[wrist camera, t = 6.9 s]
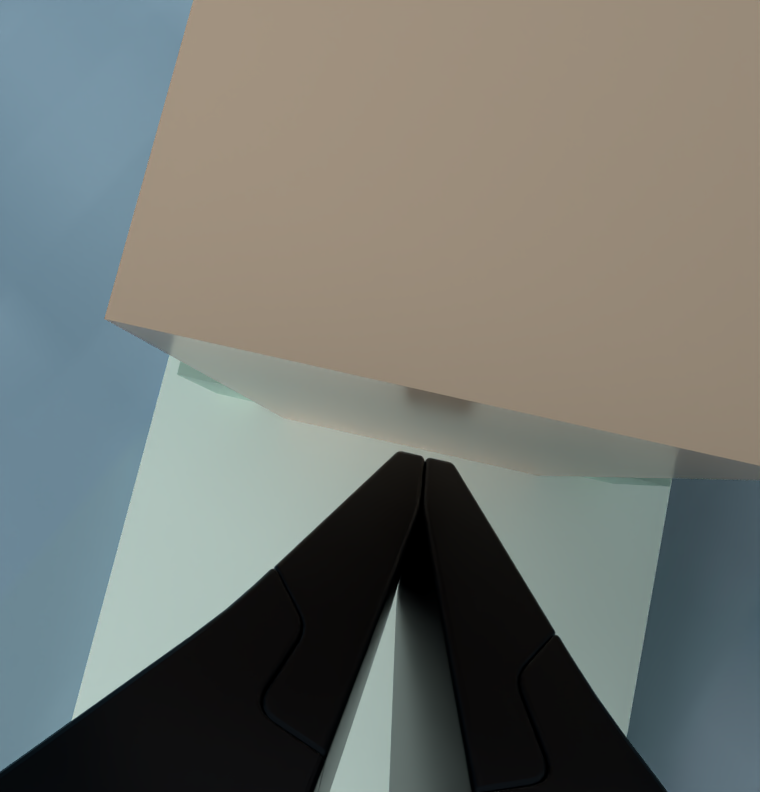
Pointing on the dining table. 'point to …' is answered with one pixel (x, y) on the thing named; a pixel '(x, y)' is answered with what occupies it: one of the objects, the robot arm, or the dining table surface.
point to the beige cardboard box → (467, 226)
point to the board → (311, 504)
